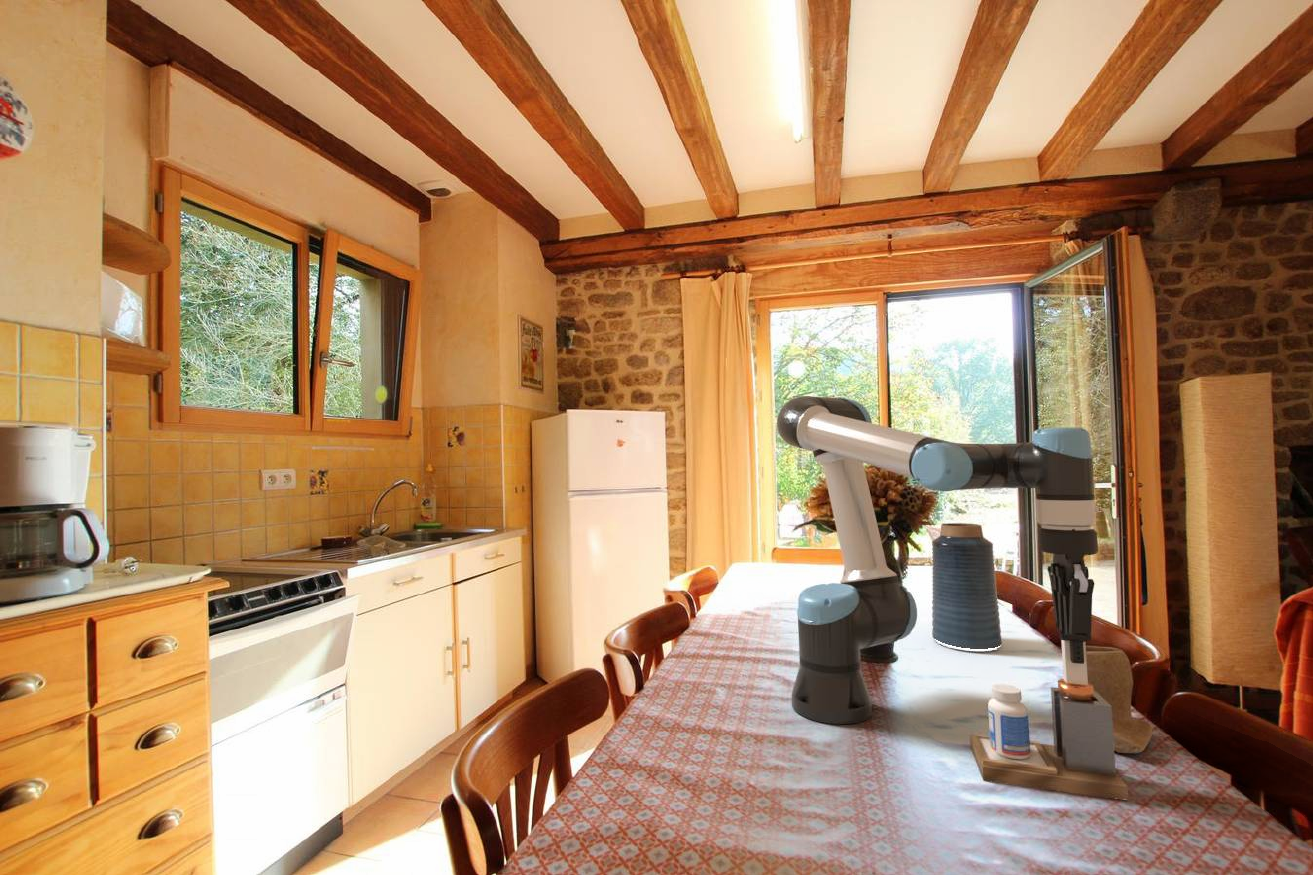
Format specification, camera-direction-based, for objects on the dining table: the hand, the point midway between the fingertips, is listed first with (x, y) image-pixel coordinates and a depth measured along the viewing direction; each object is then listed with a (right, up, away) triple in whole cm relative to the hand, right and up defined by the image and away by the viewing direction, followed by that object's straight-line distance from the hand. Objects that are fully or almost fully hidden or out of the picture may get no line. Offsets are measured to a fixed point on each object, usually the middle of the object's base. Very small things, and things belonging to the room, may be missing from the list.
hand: (1075, 682), depth 88 cm
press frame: (+1, -12, -1) cm, 12 cm away
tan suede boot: (+14, -15, +12) cm, 24 cm away
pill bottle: (-8, -12, +3) cm, 15 cm away
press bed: (-4, -14, +1) cm, 15 cm away
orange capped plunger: (0, -12, -1) cm, 12 cm away
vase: (+19, -18, +66) cm, 71 cm away
